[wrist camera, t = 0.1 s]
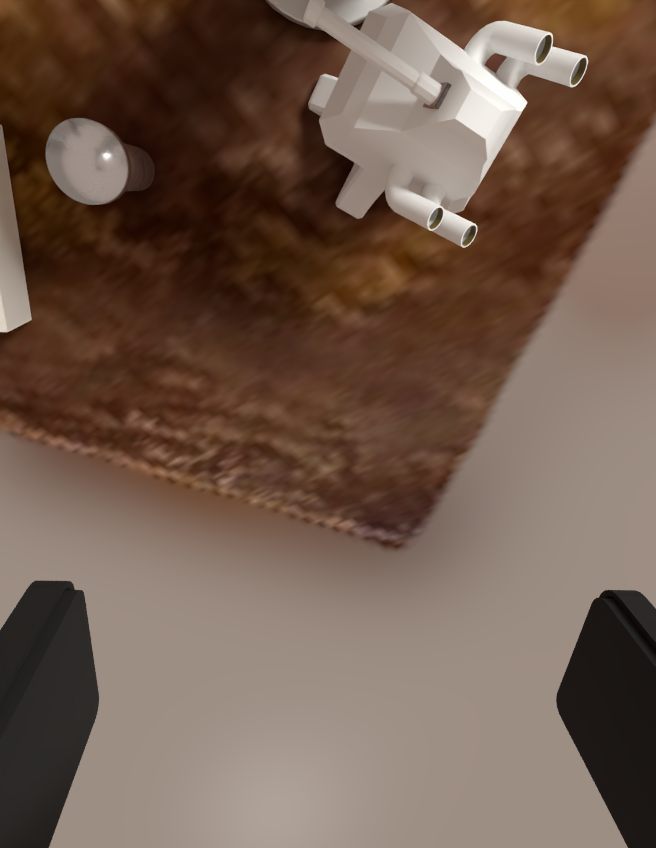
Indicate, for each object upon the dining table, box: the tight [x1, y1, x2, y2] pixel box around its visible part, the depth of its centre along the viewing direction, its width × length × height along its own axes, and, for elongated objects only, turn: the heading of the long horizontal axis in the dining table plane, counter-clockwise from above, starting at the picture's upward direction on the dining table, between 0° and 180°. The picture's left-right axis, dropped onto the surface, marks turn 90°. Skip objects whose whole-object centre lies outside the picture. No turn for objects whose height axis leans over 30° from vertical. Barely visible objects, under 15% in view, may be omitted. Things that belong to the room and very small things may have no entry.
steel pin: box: [46, 118, 155, 205], centre depth 34 cm, size 4×4×10 cm
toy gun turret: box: [303, 0, 588, 247], centre depth 30 cm, size 12×13×18 cm
